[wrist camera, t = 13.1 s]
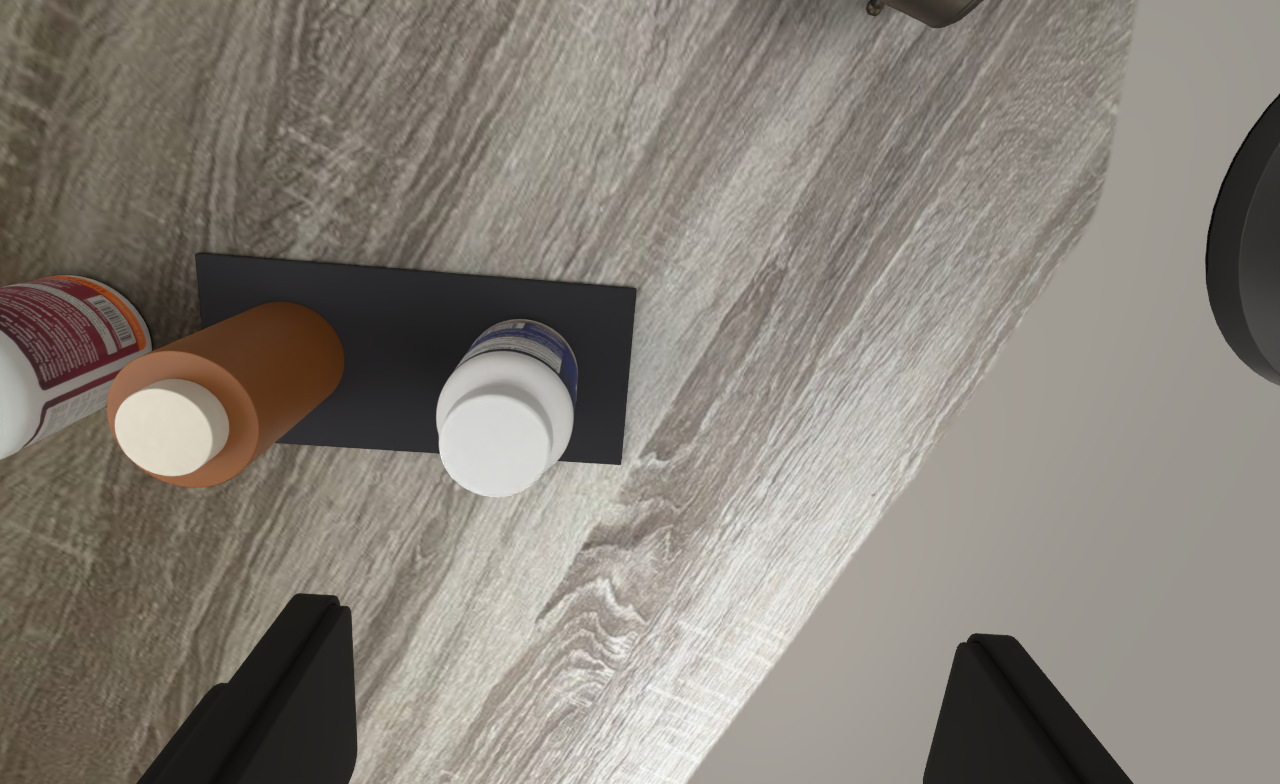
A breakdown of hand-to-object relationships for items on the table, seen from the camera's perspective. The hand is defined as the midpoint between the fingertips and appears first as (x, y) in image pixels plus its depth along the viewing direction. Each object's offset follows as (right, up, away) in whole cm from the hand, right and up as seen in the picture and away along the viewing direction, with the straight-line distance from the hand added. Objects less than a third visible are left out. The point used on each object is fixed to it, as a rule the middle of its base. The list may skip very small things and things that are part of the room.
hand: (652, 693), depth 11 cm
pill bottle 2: (-6, +6, +24) cm, 25 cm away
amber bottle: (-17, +6, +23) cm, 29 cm away
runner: (-11, +6, +24) cm, 27 cm away
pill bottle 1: (-26, +7, +23) cm, 36 cm away
